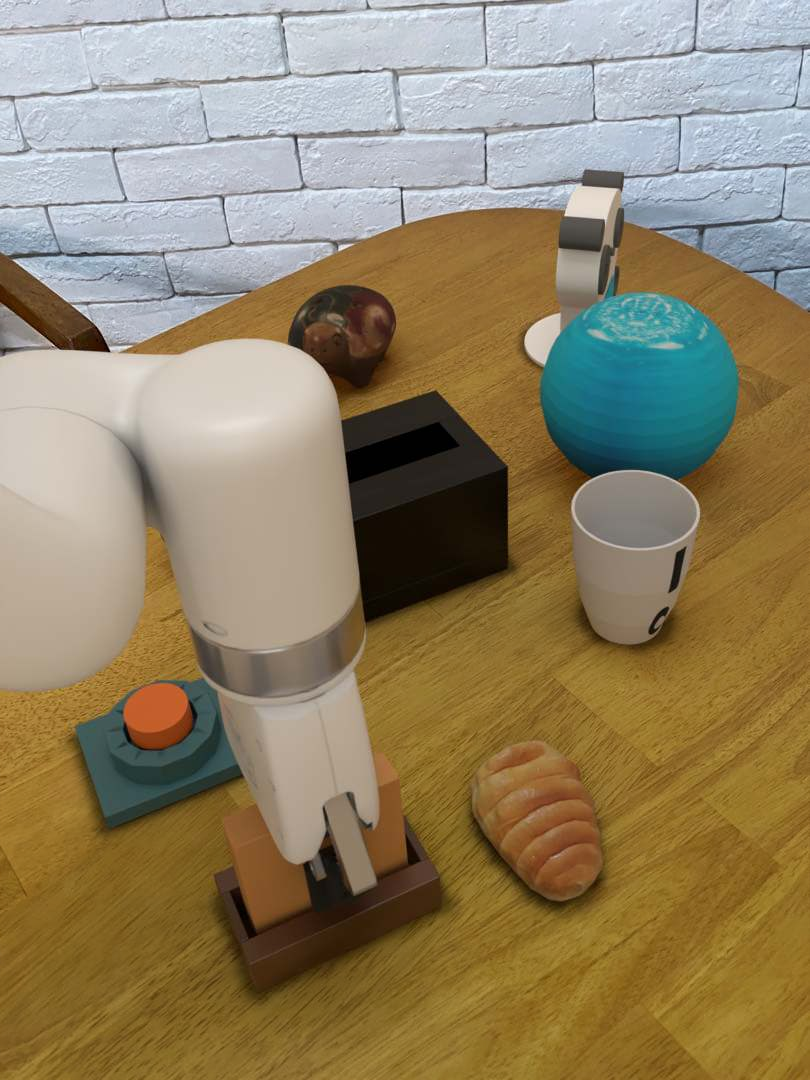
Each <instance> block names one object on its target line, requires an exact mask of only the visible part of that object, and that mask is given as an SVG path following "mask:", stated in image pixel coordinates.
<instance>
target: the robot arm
mask: <svg viewBox="0 0 810 1080" xmlns="http://www.w3.org/2000/svg"><path fill="white" fill-rule="evenodd" d="M338 400H339V399H338V394H337V391H336V388H335V386H334V383H333V382H332V379H331V378H330V375H327V373H326V371H325V370H324V368H323V367H322V366H321V365H320V364H319V363H318V362H317V361H316V360H314V359H313V358H312V357H311V356H310V355H308V354H307V353H305V352H303V351H302V350H300V349H298V348H295V347H292V346H290V345H288V343H283V342H280V341H276V340H271V339H264V338H263V339H262V338H232V339H226V340H225V339H224V340H219V341H215V342H211V343H207V344H204V345H200V346H197V347H195V348H192V349H189V350H187V351H184V352H183V353H181V354H180V353H179V354H164V353H163V354H162V353H161V354H156V353H155V354H153V353H152V354H150V353H147V354H146V353H129V352H127V353H126V352H108V351H92V350H75V349H74V350H73V349H34V350H33V349H32V350H26V351H25V350H24V351H18V352H13V353H8V354H5V355H3V356H0V691H7V692H16V693H40V692H49V691H55V690H60V689H66V688H69V687H72V686H75V685H77V684H79V683H81V682H84V681H87V680H88V679H91V678H92V677H94V676H95V675H97V674H99V673H100V672H102V671H104V670H105V669H106V668H108V667H109V666H110V665H111V664H112V663H113V662H114V661H115V660H116V659H117V658H118V656H120V655H121V653H122V652H123V651H125V649H126V647H127V645H128V644H129V642H130V640H131V639H132V637H133V635H134V634H135V632H136V630H137V627H138V624H139V622H140V618H141V616H142V611H143V608H144V604H145V595H146V577H147V576H146V574H147V527H149V528H152V529H154V530H156V531H157V532H158V533H159V535H160V534H161V535H162V537H163V539H164V542H165V543H164V542H163V543H164V545H165V547H166V551H167V555H168V559H169V563H170V567H171V570H172V574H173V578H174V581H175V585H176V586H175V587H176V588H177V593H178V597H179V600H180V604H181V608H182V612H183V616H184V620H185V623H186V628H187V631H188V635H189V639H190V642H191V646H192V650H193V654H194V658H195V662H196V666H197V669H198V671H199V673H200V675H201V678H204V679H205V681H206V682H207V683H208V684H209V685H210V686H211V687H212V688H213V689H214V690H216V691H217V693H218V698H219V704H220V709H221V714H222V719H223V724H224V728H225V732H226V735H227V738H228V741H229V743H230V746H231V748H232V751H233V753H234V755H235V758H236V760H237V762H238V764H239V767H240V769H241V771H242V773H243V774H242V775H243V778H244V780H245V782H246V785H247V787H248V789H249V791H250V793H251V795H252V798H253V799H254V802H255V804H257V806H258V808H259V810H260V812H261V814H262V817H263V819H264V821H265V823H266V825H267V827H268V829H269V831H270V833H271V836H272V838H273V840H274V842H275V844H276V846H277V848H278V849H279V851H280V853H281V854H282V856H283V857H284V858H285V859H286V860H287V861H289V862H291V863H293V864H296V865H298V864H301V863H304V862H305V864H303V868H304V872H305V877H306V882H307V886H308V891H309V896H310V901H311V905H312V907H313V909H314V911H315V913H317V914H320V913H323V912H325V911H327V910H330V909H332V908H337V909H339V908H343V907H345V906H348V905H350V904H352V903H354V902H355V901H357V900H358V899H359V898H360V896H361V895H363V894H365V893H367V892H368V891H369V890H370V889H371V888H373V887H375V886H377V885H378V883H377V879H376V876H375V873H374V870H373V867H372V864H371V861H370V858H369V855H368V852H367V847H366V843H365V839H364V835H363V831H362V827H361V823H362V825H363V827H364V829H365V830H366V829H369V830H370V831H371V832H373V831H374V830H375V828H376V826H377V823H378V820H379V814H380V806H379V793H378V785H377V778H376V772H375V766H374V760H373V755H374V754H373V750H372V745H371V744H372V743H371V741H370V740H371V739H370V734H369V729H368V725H367V720H366V714H365V711H364V708H365V704H364V702H363V701H362V697H361V693H360V689H359V684H358V681H357V676H356V672H355V671H356V670H355V668H356V666H357V665H358V664H359V663H360V660H361V658H362V656H363V654H364V651H365V647H366V643H367V629H366V628H367V627H366V622H365V620H364V610H363V602H362V594H361V585H360V577H359V568H358V561H357V551H356V543H355V535H354V527H353V518H352V510H351V501H350V493H349V484H348V476H347V467H346V458H345V450H344V441H343V433H342V424H341V420H342V418H341V417H342V416H341V411H340V405H339V401H338ZM161 535H160V536H161ZM162 537H161V538H162ZM360 821H361V823H360ZM329 836H330V838H331V841H332V845H330V846H328V847H326V848H323V849H321V850H320V846H321V844H322V841H323V839H324V838H327V837H329Z"/></svg>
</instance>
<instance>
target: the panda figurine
mask: <svg viewBox="0 0 810 1080" xmlns="http://www.w3.org/2000/svg"><path fill="white" fill-rule="evenodd" d="M624 184H625V172H624V171H615V170H614V171H613V170H601V169H587V168H584V170H583V172H582V177H581V185H576V186H575V188H574V189H573V190H572V192H571V195H570V197H569V199H568V202H567V205H566V207H565V211H564V215H562V216H561V219H560V224H559V229H558V240H557V241H558V243H557V244H558V252H557V260H556V271H555V295H556V300H557V303H558V305H559V306H560V312H557V313H554V314H551V315H548V316H546V317H543V318H541V319H540V320H538V321H536V322H535V323H534V324H532V325H531V327H529V329H528V330H527V332H526V334H525V336H524V351H525V352H526V355H527V356H528V358H530V360H531V361H533V362H534V363H535V364H537V365H538V366H540V367H541V368H543V369H544V367H545V364H546V361H547V358H548V355H549V352H550V349H551V347H552V346H553V344H554V342H555V340H556V338H557V337H558V336H559V334H560V333H561V332H562V331H563V329H564V328H565V327H566V326H567V325H568V324H569V323H570V322H571V321H572V320H573V319H574V318H575V317H577V316H578V315H579V314H580V313H581V312H583V311H584V310H585V309H587V308H589V307H591V306H593V305H594V304H596V303H599V302H601V301H603V300H605V299H607V298H610V297H614V296H617V293H618V287H619V282H620V265H616V264H617V259H618V253H619V252H618V251H619V248H620V246H621V243H622V239H623V232H624V225H625V208H624V207H622V194H623V191H624Z"/></svg>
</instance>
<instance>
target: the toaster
mask: <svg viewBox="0 0 810 1080" xmlns="http://www.w3.org/2000/svg"><path fill="white" fill-rule="evenodd" d="M341 424H342V433H343V441H344V450H345V458H346V467H347V476H348V484H349V493H350V501H351V510H352V518H353V527H354V535H355V543H356V551H357V561H358V568H359V577H360V585H361V594H362V602H363V610H364V620H365V623H368V622H371V621H372V620H375V619H376V620H377V619H378V618H381V617H383V616H386V615H389V614H392V613H394V612H397V611H399V610H402V609H405V608H407V607H410V606H412V605H415V604H418V603H420V602H423V601H426V600H429V599H431V598H433V597H434V598H435V597H436V596H439V595H441V594H444V593H447V592H449V591H452V590H454V589H457V588H460V587H463V586H465V585H467V584H470V583H473V582H476V581H479V580H480V579H483V578H486V577H488V576H491V575H494V574H496V573H499V572H501V571H502V572H503V571H505V570H507V569H509V466H508V465H507V464H506V463H505V462H504V461H503V459H502V458H500V456H499V455H498V454H497V453H496V452H495V451H494V450H493V449H492V448H491V447H490V446H489V444H487V442H486V441H485V440H484V439H483V438H482V437H481V436H480V435H479V434H478V433H477V432H476V431H475V430H474V429H473V427H471V425H469V423H468V422H467V421H466V420H465V419H464V418H463V417H462V416H461V415H460V414H459V412H458V411H456V409H455V408H454V407H453V406H452V405H451V404H450V403H449V402H448V401H447V400H446V399H445V398H444V397H443V395H441V393H440V392H438V390H436V389H435V390H432V391H429V392H426V393H422V394H419V395H416V396H414V397H411V398H407V399H403V400H400V401H397V402H394V403H392V404H391V403H390V404H388V405H386V406H382V407H379V408H375V409H372V410H369V411H367V412H363V413H359V414H357V415H354V416H351V417H348V418H344V419H341Z"/></svg>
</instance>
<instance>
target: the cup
mask: <svg viewBox="0 0 810 1080" xmlns="http://www.w3.org/2000/svg"><path fill="white" fill-rule="evenodd" d="M570 506H571V508H570V509H571V533H572V557H573V558H572V559H573V564H574V568H575V575H576V582H577V586H578V592H579V597H580V601H581V602H582V605H583V608H584V610H585V613H586V616H587V619H588V622H589V624H590V626H591V628H592V629H593V630H594V632H595V633H596V634H598V635H599V636H600V637H601V638H602V639H604V640H606V641H608V642H611V643H615V644H618V645H619V644H620V645H627V646H628V645H638V644H642V643H646V642H648V641H650V640H651V639H653V638H654V637H655V636H657V635H658V633H659V632H660V631H661V629H662V627H663V626H664V624H665V623H666V621H667V619H668V617H669V616H670V614H671V613H672V611H673V609H674V608H675V605H676V604H677V600H678V598H679V594H680V592H681V590H682V587H683V584H684V581H685V579H686V576H687V573H688V570H689V567H690V564H691V560H692V554H693V549H694V545H695V541H696V536H697V531H698V528H699V522H700V518H701V509H700V505H699V502H698V500H697V498H696V497H695V495H694V494H693V493H692V491H691V490H689V488H687V487H686V486H685V485H684V484H682V483H681V482H679V481H675V480H673V479H671V478H669V477H667V476H664V475H661V474H657V473H653V472H648V471H640V470H622V471H614V472H609V473H606V474H602V475H600V476H597V477H595V478H593V479H592V478H590V479H589V480H587V481H586V482H585V483H583V484H582V485H581V486H580V487H579V488H578V489H577V491H576V492H575V494H574V495H573V497H572V499H571V505H570Z"/></svg>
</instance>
